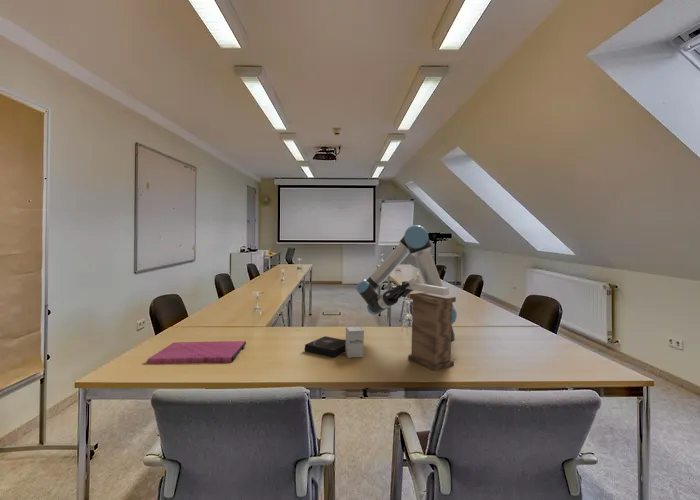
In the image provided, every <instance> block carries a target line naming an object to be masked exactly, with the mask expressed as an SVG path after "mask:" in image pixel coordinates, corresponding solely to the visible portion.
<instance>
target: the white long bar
mask: <svg viewBox="0 0 700 500" xmlns="http://www.w3.org/2000/svg"><path fill="white" fill-rule="evenodd" d="M408 281H409V280H407V281H406V280H404V281H401V285H403V284H405V283H407V282H408ZM408 289H411V290H413V291H417V292H421V293H424V292H427V293H432V294H438V295H443V296H445V295H448V296H450V295H449V294H450V291H449V290H450V288H449V287H445V286H443V287H439V286H433V285H427V284H424V283H422V282H421V283H416V284H415V285H413V286H412V287H410V288H408Z"/></svg>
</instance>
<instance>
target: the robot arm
mask: <svg viewBox="0 0 700 500" xmlns="http://www.w3.org/2000/svg"><path fill="white" fill-rule="evenodd" d="M431 250H432V243H431V241H430V238H429V233H428V231H427V229H426V228H425V227H424V226H422V225H419V224H415V225H410V226H409V227H408V228H406V229H405V231H404V235H403V236H402V238H401V239H400V240H399V243H398V245H397V246H396V247H395V248H394V249H393V250H392V252H390V254H389V255H388V256H387V257H386V258H385V259H384V261H383V262H382V263H381V264H379V266H378V267H377V268H376V269H375V270H374V272H373V273H372V274H371V275H369V277H368V278H367V279H365V278H364V279H363V280H361V281H360V282H359V283H358V284H357V285H355V290H356V292H357V293H358V295H360V296H361V297H362V299H363V300H364V301H365V303H366V304H367V305H366V309H367V312H368V313H369V314H370V315H372V316H376V315H378V314H381V313H382V312H385V310H389V308H390V307H392V306H393V305H395V304H397V303H398V301H399V299H401V297H403V296H405V297H406V296H408V295H410V294H411V293H412V292H413V291H414V290H411V289H408V288H410V287H412V286H413V285H415V284H416V283H421V284H422V282H423V284H427V285H433V286H439V287H444V285H443V283H442V279H441V277H440V274H439V271H438V269H437V266H436V264H435V263H436V262H435V260H434V257H433V256H432V252H431ZM408 255H411V256H413V257H414V260H415V262H416V265H417V267H418V270H419V273H420V276H421V278H420V277H418V278H416V279H415V277H413V278H411V279H409V280H407V281H408V282H407V283H405V284H403V285H402V284H401V285H400V284H399V285H397V286H396V287H393V288H392V289H388V290H387V291H385V292H384V293H382V294H381V295H379V294H378V293H377V292H376V290H377V289H378V288H379V287H380V286H381V285H382V283H384V281H386V279H387V278H388V277H390V275H391V274H392V272H394V271H395V270H396V269H397V267H398V266H399V265H400V264H401V263H402V262H403V261H404V260H405V258H407V257H408ZM421 279H422V280H421ZM446 296H449V295H446ZM453 303H454V302H452V325H454V323H456V320H457V316H458V315H457V311H456V309H455V307H454V304H453ZM455 335H456V334H455V332H454V328H453V326H452V327H451V342H452V341H454V340H455V338H456V337H455Z"/></svg>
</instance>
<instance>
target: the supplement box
mask: <svg viewBox="0 0 700 500" xmlns="http://www.w3.org/2000/svg"><path fill="white" fill-rule="evenodd" d="M345 340H346V349H345V355H346V357H347V358H364V342H365V341H364V340H365V330H364V329H363V327H361V326H347V327H346V326H345Z"/></svg>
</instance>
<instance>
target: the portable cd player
mask: <svg viewBox="0 0 700 500" xmlns="http://www.w3.org/2000/svg"><path fill="white" fill-rule="evenodd" d="M345 349H346V339H341V338H336V337H331V336H325V335H324V336H323V337H319V338H318V339H315V340H313V341H310V342H308V343H305V345H304V352H305V353H309V354H314V355H319V356H323V357H327V358H331V359H335V358H338V357H339V356H341V355H343V354H344V352H345ZM342 353H343V354H342Z"/></svg>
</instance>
